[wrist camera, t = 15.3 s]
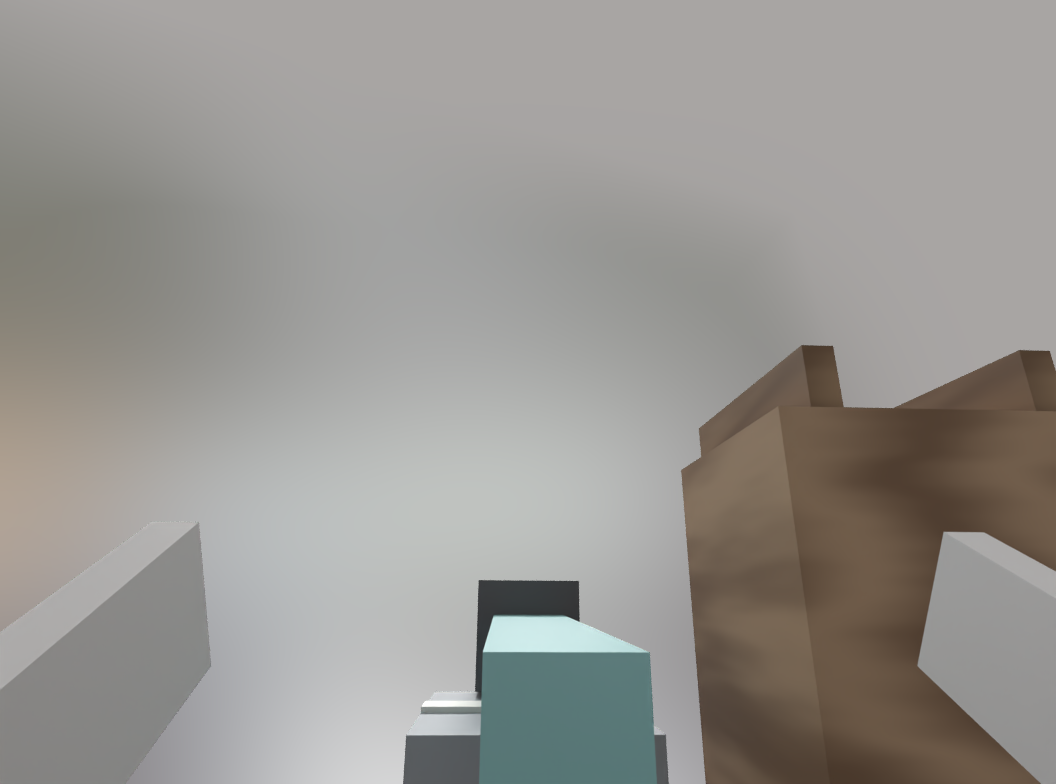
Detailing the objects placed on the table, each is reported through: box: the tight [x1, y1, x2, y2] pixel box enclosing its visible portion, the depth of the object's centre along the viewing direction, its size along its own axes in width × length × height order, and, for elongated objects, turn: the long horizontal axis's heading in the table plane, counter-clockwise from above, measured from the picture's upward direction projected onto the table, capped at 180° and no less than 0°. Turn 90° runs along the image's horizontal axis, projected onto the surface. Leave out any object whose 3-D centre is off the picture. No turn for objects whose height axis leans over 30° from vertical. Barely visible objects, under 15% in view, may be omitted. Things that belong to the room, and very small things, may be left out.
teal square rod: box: [475, 580, 657, 784], centre depth 20 cm, size 4×20×4 cm, turn 2°
